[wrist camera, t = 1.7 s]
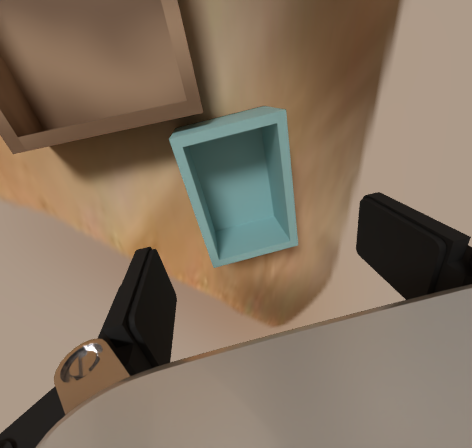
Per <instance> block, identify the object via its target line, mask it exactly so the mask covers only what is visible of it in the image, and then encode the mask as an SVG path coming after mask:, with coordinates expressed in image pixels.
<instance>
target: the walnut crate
mask: <svg viewBox="0 0 472 448" xmlns="http://www.w3.org/2000/svg"><path fill="white" fill-rule="evenodd" d="M200 113H203V109H202V104H201V100H200V96H199V91H198V87H197V83H196V78H195V74H194V70H193V66H192V61H191V57H190V53H189V48H188V44H187V40H186V35H185V31H184V27H183V22H182V18H181V14H180V9H179V5H178V1H177V0H0V135H1V137H2V138H3V140H4V141H5V143H6V144H7V146H8V147H9V149H10V150H11V152H12V153H13V154H16V153H21V152H25V151H30V150H34V149H39V148H44V147H48V146H53V145H57V144H62V143H67V142H71V141H76V140H80V139H85V138H90V137H94V136H99V135H103V134H108V133H113V132H117V131H122V130H126V129H131V128H136V127H140V126H145V125H149V124H154V123H159V122H163V121H168V120H172V119H177V118H182V117H186V116H191V115H195V114H200Z"/></svg>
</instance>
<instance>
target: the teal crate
mask: <svg viewBox="0 0 472 448" xmlns="http://www.w3.org/2000/svg"><path fill="white" fill-rule="evenodd" d="M169 141H170V144H171V147H172V150H173V153H174V155H175V158H176V161H177V164H178V167H179V170H180V173H181V175H182V178H183V181H184V184H185V187H186V190H187V193H188V196H189V198H190V201H191V204H192V207H193V210H194V213H195V216H196V219H197V221H198V224H199V227H200V230H201V233H202V236H203V239H204V242H205V244H206V247H207V250H208V253H209V256H210V259H211V262H212V264H213V267H214V268H215V267H219V266H223V265H227V264H230V263H234V262H238V261H241V260H245V259H249V258H253V257H256V256H260V255H264V254H268V253H271V252H275V251H279V250H282V249H286V248H290V247H294V246H297V245H298V237H297V226H296V215H295V204H294V193H293V182H292V171H291V160H290V149H289V138H288V127H287V115H286V110H285V109H279V108H273V107H267V106H262V107H258V108H254V109H250V110H246V111H242V112H238V113H234V114H230V115H226V116H222V117H218V118H214V119H210V120H206V121H202V122H198V123H194V124H190V125H187V126H183V127H179V128H175V130H174V132H173V133H172V135H171V137H170V138H169Z"/></svg>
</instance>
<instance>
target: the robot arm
mask: <svg viewBox="0 0 472 448" xmlns="http://www.w3.org/2000/svg"><path fill="white" fill-rule="evenodd" d="M470 238H471V237H469V236H467V235H465V234H463V233H461V232H459V231H457V230H455V229H453V228H451V227H449V226H447V225H445V224H443V223H441V222H439V221H437V220H435V219H433V218H431V217H429V216H427V215H424V214H423V213H421V212H418V211H416V210H414V209H412V208H410V207H408V206H406V205H404V204H402V203H400V202H398V201H396V200H394V199H392V198H390V197H388V196H386V195H384V194H382V193H379V192H378V193H373V194H369V195H365V196H364V197H363V199H362V200H361V201H360V208H359V220H358V231H357V244H356V250H357V253H358V254H359V256H361V258H362V259H364V260H365V261H366V262H367V263H368V264H369V265H370V266H371V267H372V268H373V269H374V270H375V271H376V272H377V273H378V274H379V275H380V276H382V277H383V278H384V279H385V280H386V281H387V282H388V283H389V284H390V285H391V286H392V287H393V288H394V289H395V290H396V291H397V292H399V293H400V294H401V295H402V296H403V297H404V298H405V299H406V300H405V301H401V302H397V303H393V304H389V305H385V306H381V307H377V308H373V309H369V310H365V311H361V312H357V313H353V314H350V315H346V316H342V317H339V318H334V319H330V320H327V321H323V322H319V323H315V324H311V325H307V326H304V327H300V328H296V329H292V330H288V331H284V332H281V333H277V334H273V335H269V336H265V337H262V338H258V339H254V340H250V341H247V342H243V343H239V344H235V345H232V346H228V347H224V348H220V349H217V350H213V351H209V352H206V353H202V354H199V355H196V356H192V357H188V358H184V359H181V360H178V361H174V362H170V358H171V349H172V340H173V330H174V321H175V312H176V311H175V310H176V302H177V298H176V294H175V291H174V289H173V286H172V284H171V282H170V279H169V277H168V275H167V272H166V270H165V268H164V265H163V263H162V261H161V259H160V256H159V254H158V252H157V250H156V249H153V250H152V248H151V247H147V248H143V249H138V250H136V251H135V254H134V256H133V259H132V261H131V263H130V266H129V268H128V271H127V273H126V275H125V278H124V280H123V282H122V285H121V286H120V287H119V289H118V292H117V294H116V296H115V299H114V301H113V304H112V306H111V308H110V311H109V313H108V315H107V318H106V320H105V322H104V325H103V327H102V329H101V332H100V334H99V336H98V339H92V340H89V341H86V342H84V343H82V344H80V345H79V346H77V347H76V348H74V349H73V350H72V351H71V352H70V353H69V354H67V356H66V357H65V358H64V359H63V360H62V361H61V363H60V364H59V366H58V368H57V370H56V372H55V376H54V384H55V387H54V388H53V389H51V391H49V392H48V393H47V394H46V395H45V396H43V397H42V398H41V399H40V400H39V401H38V402H36V404H34V405H33V406H32V407H31V408H30V409H28V410H27V411H26V412H25V413H24V414H23V415H21V416H20V417H19V418H18V419H17V420H16V421H14V422H13V423H12V424H11V425H10V426H9V427H8V428H6V429H5V430H4V431H3V432H2V433H1V434H0V448H472V247H470V246H468V243H469V240H470Z"/></svg>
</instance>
